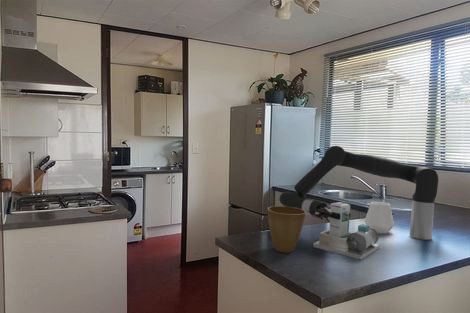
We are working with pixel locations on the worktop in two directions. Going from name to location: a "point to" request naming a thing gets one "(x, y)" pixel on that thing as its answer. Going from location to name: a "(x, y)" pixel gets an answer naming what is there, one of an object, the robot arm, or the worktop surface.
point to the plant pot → (285, 226)
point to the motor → (350, 242)
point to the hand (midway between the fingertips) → (344, 216)
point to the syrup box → (340, 226)
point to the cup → (380, 217)
